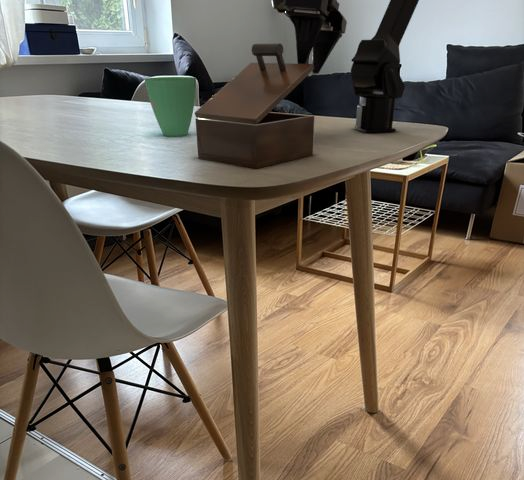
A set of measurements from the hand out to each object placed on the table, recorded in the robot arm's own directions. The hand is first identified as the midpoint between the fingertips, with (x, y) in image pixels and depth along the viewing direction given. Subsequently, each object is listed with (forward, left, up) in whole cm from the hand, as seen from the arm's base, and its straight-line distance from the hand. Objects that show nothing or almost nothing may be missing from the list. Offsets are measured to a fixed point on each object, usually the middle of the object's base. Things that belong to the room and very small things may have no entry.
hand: (308, 69), depth 89 cm
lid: (+13, +13, -3) cm, 18 cm away
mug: (+23, -17, -12) cm, 31 cm away
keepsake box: (+13, +13, -12) cm, 22 cm away
